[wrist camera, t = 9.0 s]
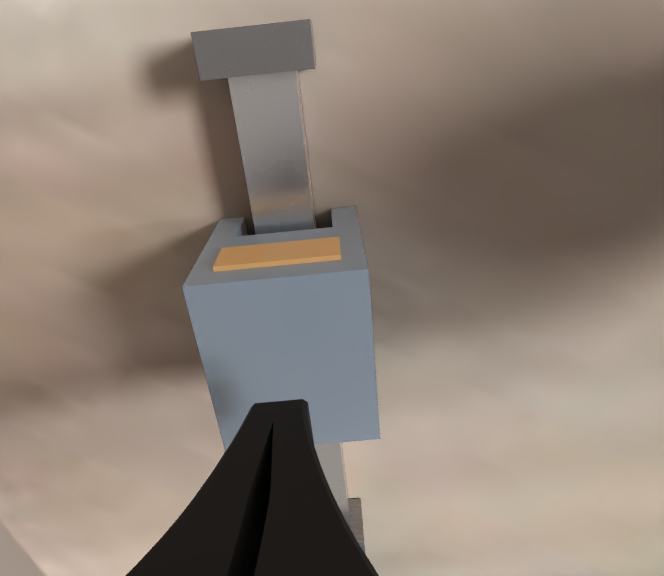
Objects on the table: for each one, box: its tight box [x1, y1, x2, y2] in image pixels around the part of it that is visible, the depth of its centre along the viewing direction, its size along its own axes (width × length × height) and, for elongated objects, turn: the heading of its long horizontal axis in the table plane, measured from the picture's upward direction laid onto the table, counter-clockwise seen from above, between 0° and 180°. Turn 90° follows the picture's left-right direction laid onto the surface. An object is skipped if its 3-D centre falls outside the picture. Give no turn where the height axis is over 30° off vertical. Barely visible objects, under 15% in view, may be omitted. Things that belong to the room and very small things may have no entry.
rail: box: [191, 19, 365, 553], centre depth 19 cm, size 3×22×2 cm, turn 6°
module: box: [182, 206, 380, 452], centre depth 17 cm, size 5×6×6 cm
